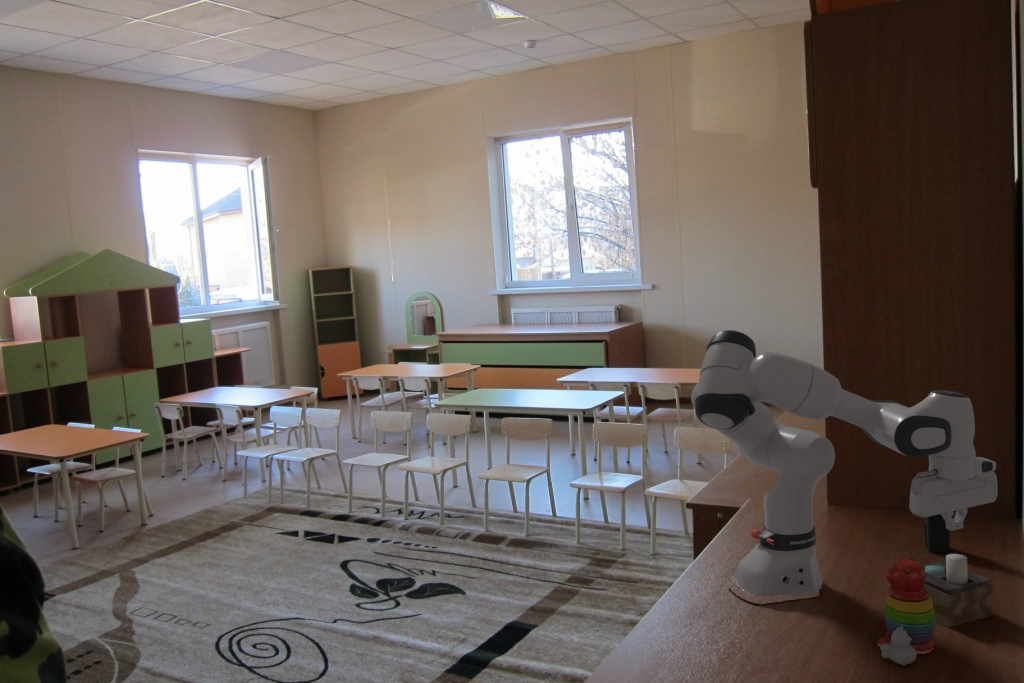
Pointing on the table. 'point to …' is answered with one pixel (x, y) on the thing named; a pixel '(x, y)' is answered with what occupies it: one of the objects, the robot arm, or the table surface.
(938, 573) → the teal peg
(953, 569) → the grey peg
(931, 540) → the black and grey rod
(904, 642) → the rubber duck
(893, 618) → the stacking bear
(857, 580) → the table surface
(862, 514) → the table surface
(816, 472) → the robot arm
